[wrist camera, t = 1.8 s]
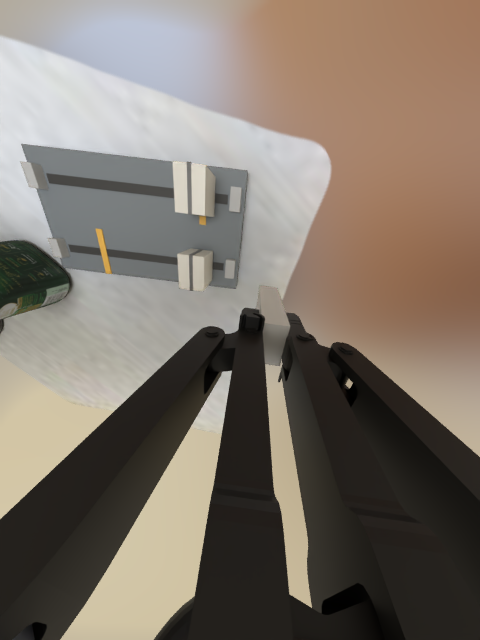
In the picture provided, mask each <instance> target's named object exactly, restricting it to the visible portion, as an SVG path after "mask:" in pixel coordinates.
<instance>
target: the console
mask: <svg viewBox="0 0 480 640" xmlns="http://www.w3.org/2000/svg"><path fill="white" fill-rule="evenodd" d="M21 145H22V148H23V151H24V154H25V157H26V160H27V162H21V161H20V163H21V166H22V168H23V171H24V174H25V177H26V180H27V183H28V185H29V187H31V188H36V189H37V192H38V195H39V198H40V201H41V204H42V206H43V209H44V212H45V215H46V218H47V221H48V224H49V227H50V230H51V233H52V236H53V238H47V239H48V242H49V244H50V247H51V250H52V253H53V256H54V257H59V258H60V259H61V262H62V265H63V268H69V269H77V270H86V271H94V272H102V273H107V274H118V275H126V276H134V277H143V278H151V279H159V280H167V281H175V282H179V277H178V258H177V254H178V253H181V252H183V251H186V250H188V249H191V248H192V249H203V250H208V251H213V267H212V281H211V282H210V284H209V285H208V286H216V287H224V288H232V289H236V286H237V277H238V267H239V257H240V247H241V237H242V228H243V218H244V208H245V198H246V188H247V178H248V172H247V170H239V169H230V168H222V167H213V166H207V165H206V166H207V167H208V168H209V170H210V171H211V172H212V173H213V175H214V176H215V177H216V180H215V209H214V217H209V216H197V215H189V214H185V213H178V212H175V200H174V181H173V162H171V161H162V160H154V159H145V158H137V157H128V156H120V155H111V154H103V153H94V152H86V151H77V150H69V149H60V148H52V147H44V146H35V145H27V144H21Z"/></svg>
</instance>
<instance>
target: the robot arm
mask: <svg viewBox="0 0 480 640" xmlns="http://www.w3.org/2000/svg"><path fill="white" fill-rule="evenodd" d="M2 327H3V322H2V319H1V320H0V332H1V330H2ZM281 359H282V363H283V365H282V368H281V372H280V375H279V379H278V382H280V380H281V378H282V382H283V388H284V394H285V400H286V407H287V413H288V419H289V425H290V431H291V437H292V443H293V448H294V455H295V461H296V467H297V474H298V480H299V486H300V492H301V498H302V504H303V510H304V516H305V522H306V528H307V535H308V558H307V571H308V581H309V589H310V596H311V603H312V608H311V607H309V606H308V605H306V604H304V603H303V602H301V601H299V600H298V599H296V598H294V597H293V596H291V595H289V587H288V576H287V565H286V555H285V543H284V532H283V523H282V515H281V511H280V506H279V502H278V501H277V499H276V497H275V494H274V488H273V476H272V460H271V446H270V431H269V416H268V401H267V387H266V373H265V364H269V365H276V366H280V363H281ZM231 370H232V374H231V380H230V386H229V393H228V399H227V405H226V412H225V418H224V424H223V430H222V437H221V443H220V449H219V456H218V462H217V468H216V475H215V481H214V486H213V491H212V495H211V501H210V507H209V512H208V519H207V524H206V530H205V537H204V543H203V549H202V555H201V561H200V568H199V574H198V580H197V587H196V592H195V596H194V597H193V598H192V599H191V600H189V601H188V602H187V603H185V604H184V605H183V606H182V607H181V608H180V609H179V610H178V611H177V612H176V613H175V614H174V615H173V616H172V617H171V618H170V620H169V621H168V622H167V623H166V624H165V626H164V627H163V628H162V630H161V631H160V632H159V633H158V635H157V636H156V637H155V639H154V640H480V457H479V456H478V455H477V454H475V453H474V452H473V451H472V450H471V449H470V448H469V447H467V446H466V445H465V444H464V443H463V442H462V441H461V440H460V439H458V438H457V437H456V436H455V435H454V434H453V433H452V432H450V431H449V430H448V429H447V428H446V427H445V426H443V425H442V424H441V423H440V422H439V421H438V420H437V419H436V418H434V417H433V416H432V415H431V414H430V413H429V412H428V411H426V410H425V409H424V408H423V407H422V406H421V405H419V404H418V403H417V402H416V401H415V400H414V399H413V398H411V397H410V396H409V395H408V394H407V393H406V392H405V391H404V390H402V389H401V388H400V387H399V386H398V385H397V384H396V383H394V382H393V381H392V380H391V379H390V378H389V377H388V376H386V375H385V374H384V373H383V372H382V371H381V370H380V369H378V368H377V367H376V366H375V365H374V364H373V363H372V362H371V361H369V360H368V359H367V358H366V357H365V356H364V355H363V354H361V353H360V352H359V351H358V350H357V349H355V348H354V347H352V346H350V345H349V344H345V343H340V342H336V343H333V344H332V346H331V348H328V347H325V346H321V345H319V344H318V343H317V341H316V339H315V338H314V337H313V336H312V335H311V334H309V333H307V332H306V331H305V329H304V327H303V325H302V323H301V320H300V318H299V317H298V316H297V315H295V314H294V313H286V312H285V309H284V306H283V303H282V300H281V297H280V294H279V291H278V288H275V287H267V286H260V287H259V293H258V300H257V306H256V309H251V308H244V309H243V310H242V313H241V315H240V322H239V330H238V331H236V332H235V333H231V334H225V333H224V331H223V330H222V329H221V328H218V327H214V326H209V327H205V328H203V329H201V330H200V331H199V332H198V333H197V334H195V335H194V336H193V337H192V338H191V339H190V340H189V341H188V342H187V343H186V344H185V345H184V346H183V347H182V348H181V349H180V350H179V351H178V352H176V353H175V354H174V355H173V356H172V357H171V358H170V359H169V360H168V361H167V362H166V363H165V364H164V365H163V366H162V367H161V368H160V369H159V370H157V371H156V372H155V373H154V374H153V375H152V376H151V377H150V378H149V379H148V380H147V381H146V382H145V383H144V384H143V385H142V386H141V387H140V388H138V389H137V390H136V391H135V392H134V393H133V394H132V395H131V396H130V397H129V398H128V399H127V400H126V401H125V402H124V403H123V404H122V405H121V406H119V407H118V408H117V409H116V410H115V411H114V412H113V413H112V414H111V415H110V416H109V417H108V418H107V419H106V420H105V421H104V422H103V423H102V424H101V425H100V426H99V427H97V428H96V429H95V430H94V431H93V432H92V433H91V434H90V435H89V436H88V437H87V438H86V439H85V440H84V441H83V442H82V443H80V445H78V446H77V447H76V448H75V449H74V450H73V451H72V452H71V453H70V454H69V455H68V456H67V457H66V458H65V459H64V460H62V462H60V463H59V464H58V465H57V466H56V467H55V468H54V469H53V470H52V471H51V472H50V473H49V474H48V475H47V476H46V477H45V478H43V479H42V480H41V481H40V482H39V483H38V484H37V485H36V486H35V487H34V488H33V489H32V490H31V491H30V492H29V493H28V494H27V495H26V496H25V497H23V498H22V499H21V500H20V501H19V502H18V503H17V504H16V505H15V506H14V507H13V508H12V509H11V510H10V511H9V512H8V513H7V514H6V515H4V516H3V517H2V518H1V519H0V640H60V639H61V638H62V636H63V635H64V633H65V632H66V631H67V629H68V628H69V626H70V625H71V623H72V622H73V621H74V619H75V618H76V616H77V615H78V614H79V612H80V611H81V609H82V608H83V607H84V605H85V604H86V602H87V601H88V599H89V597H90V596H91V594H92V593H93V591H94V589H95V588H96V586H97V585H98V583H99V581H100V580H101V578H102V577H103V575H104V573H105V572H106V570H107V568H108V567H109V565H110V564H111V562H112V560H113V558H114V557H115V555H116V553H117V552H118V550H119V548H120V547H121V545H122V543H123V541H124V540H125V538H126V536H127V535H128V533H129V531H130V529H131V528H132V526H133V524H134V522H135V521H136V519H137V518H138V516H139V514H140V512H141V511H142V509H143V507H144V505H145V504H146V502H147V500H148V499H149V497H150V495H151V494H152V492H153V490H154V488H155V487H156V485H157V483H158V482H159V480H160V478H161V476H162V475H163V473H164V471H165V470H166V468H167V466H168V465H169V463H170V461H171V459H172V458H173V456H174V454H175V453H176V451H177V449H178V447H179V446H180V444H181V442H182V441H183V439H184V437H185V436H186V434H187V432H188V430H189V429H190V427H191V425H192V424H193V422H194V420H195V419H196V417H197V415H198V413H199V412H200V410H201V408H202V407H203V405H204V403H205V401H206V400H207V398H208V396H209V395H210V393H211V391H212V390H213V388H214V386H215V384H216V383H217V381H218V379H219V378H220V376H221V373H222V372H223V371H231ZM348 378H349V379H350V380H351V381H352V382H353V384H352V386H351V388H350V389H349V388H348V387H347V386H346V385H345V384H346V382H347V380H348Z"/></svg>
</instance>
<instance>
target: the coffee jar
mask: <svg viewBox="0 0 480 640" xmlns="http://www.w3.org/2000/svg"><path fill="white" fill-rule="evenodd" d="M69 288H70V282H69V278H68V276H67V275H66V273H65V272H64V271H63V270H62V269H61V268H60V267H59V266H58V265H57V264H55V263H54V262H53V261H52V260H51V259H50V258H48V257H47V256H46V255H45V254H43V253H42V252H41V251H39V250H38V249H36V248H35V247H34V246H32V245H30V244H28V243H26V242H23V241H18V240H14V241H5V242H0V320H1V319H4V318H7V317H10V316H14V315H17V314H20V313H24V312H27V311H30V310H34V309H37V308H41V307H44V306H47V305H50V304H53V303H56V302H58V301H60V300H61V299H62V298H64V297H65V295H66V294H67V293H68V291H69Z"/></svg>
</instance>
